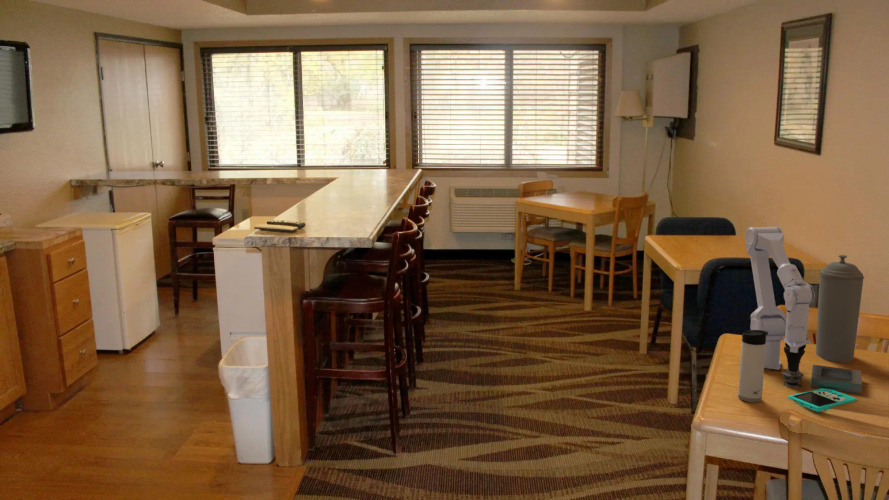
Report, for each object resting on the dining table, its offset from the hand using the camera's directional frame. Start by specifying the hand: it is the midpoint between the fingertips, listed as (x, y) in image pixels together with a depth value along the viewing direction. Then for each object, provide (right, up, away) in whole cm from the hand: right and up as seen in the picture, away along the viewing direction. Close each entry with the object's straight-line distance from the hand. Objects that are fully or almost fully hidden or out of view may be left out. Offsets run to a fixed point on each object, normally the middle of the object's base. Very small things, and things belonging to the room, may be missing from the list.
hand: (793, 369), depth 215 cm
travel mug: (-17, -7, -9) cm, 20 cm away
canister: (+25, -1, +24) cm, 34 cm away
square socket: (+13, -5, +2) cm, 14 cm away
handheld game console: (+3, -8, -10) cm, 13 cm away
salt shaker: (0, -5, +1) cm, 5 cm away
